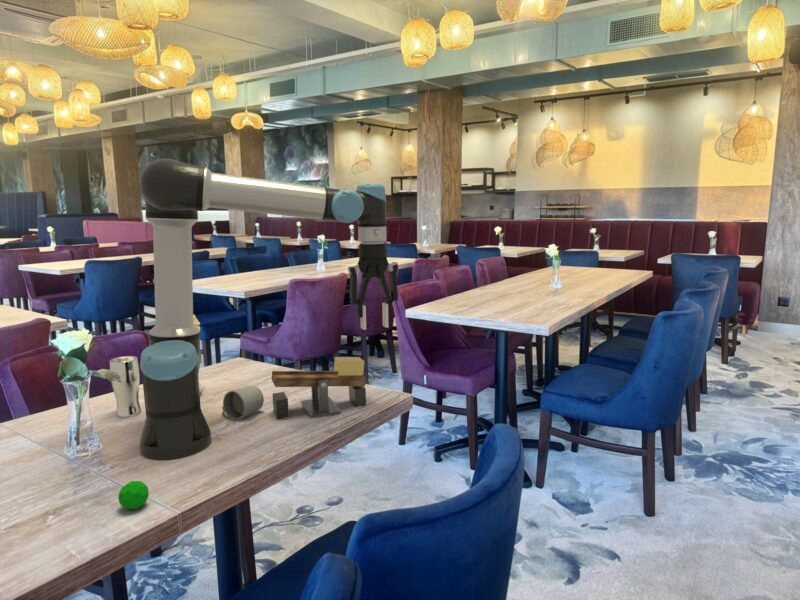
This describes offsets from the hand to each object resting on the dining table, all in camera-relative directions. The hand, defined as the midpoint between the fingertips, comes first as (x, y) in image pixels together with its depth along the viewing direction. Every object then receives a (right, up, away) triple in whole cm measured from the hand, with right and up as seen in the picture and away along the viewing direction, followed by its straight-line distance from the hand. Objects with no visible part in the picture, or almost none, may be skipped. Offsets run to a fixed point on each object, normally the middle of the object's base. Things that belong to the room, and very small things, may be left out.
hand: (374, 327), depth 153 cm
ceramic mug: (-35, -23, -5) cm, 42 cm away
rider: (-7, -13, -1) cm, 15 cm away
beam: (-15, -14, -4) cm, 21 cm away
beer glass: (-65, -23, -4) cm, 69 cm away
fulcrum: (-15, -22, -2) cm, 26 cm away
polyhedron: (-42, -31, -51) cm, 72 cm away
